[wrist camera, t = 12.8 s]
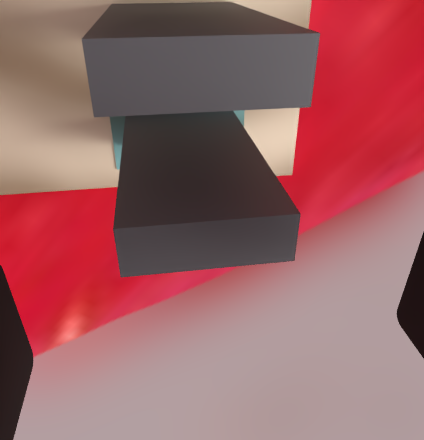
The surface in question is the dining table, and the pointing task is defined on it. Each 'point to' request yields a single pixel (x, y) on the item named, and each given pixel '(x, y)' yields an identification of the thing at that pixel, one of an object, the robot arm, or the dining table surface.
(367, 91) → the dining table surface
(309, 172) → the dining table surface
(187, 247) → the domino
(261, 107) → the domino
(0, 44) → the board
